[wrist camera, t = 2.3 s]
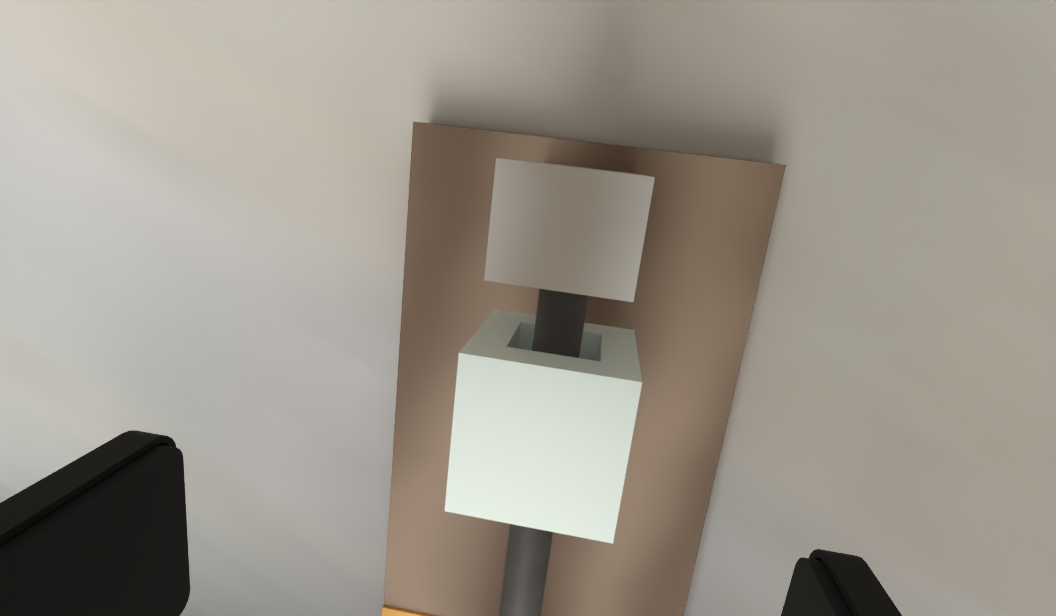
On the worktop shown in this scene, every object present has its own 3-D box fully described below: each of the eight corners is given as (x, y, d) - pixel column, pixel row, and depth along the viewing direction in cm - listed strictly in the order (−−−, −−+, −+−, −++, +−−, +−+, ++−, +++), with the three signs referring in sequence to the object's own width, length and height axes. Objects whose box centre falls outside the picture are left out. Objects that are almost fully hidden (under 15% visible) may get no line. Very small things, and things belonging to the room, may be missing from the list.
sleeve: (634, 330, 16) (642, 382, 12) (612, 457, 17) (612, 543, 13) (494, 309, 16) (458, 352, 12) (481, 434, 17) (444, 511, 13)
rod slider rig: (772, 165, 19) (926, 161, 10) (634, 785, 26) (648, 1120, 17) (427, 125, 20) (275, 88, 11) (387, 726, 27) (274, 1007, 18)
